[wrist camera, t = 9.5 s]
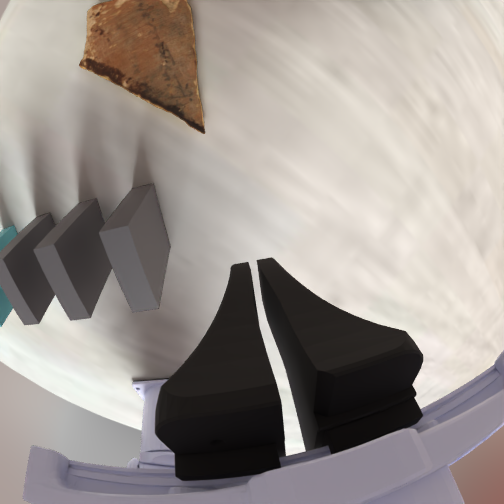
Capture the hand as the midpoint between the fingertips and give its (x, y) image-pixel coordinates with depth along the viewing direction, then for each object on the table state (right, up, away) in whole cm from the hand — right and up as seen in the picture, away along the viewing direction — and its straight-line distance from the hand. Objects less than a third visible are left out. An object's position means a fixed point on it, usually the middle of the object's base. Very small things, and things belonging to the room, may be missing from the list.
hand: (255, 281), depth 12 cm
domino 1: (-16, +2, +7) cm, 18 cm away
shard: (-6, +15, +2) cm, 16 cm away
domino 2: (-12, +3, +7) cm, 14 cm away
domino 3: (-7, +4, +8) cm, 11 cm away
